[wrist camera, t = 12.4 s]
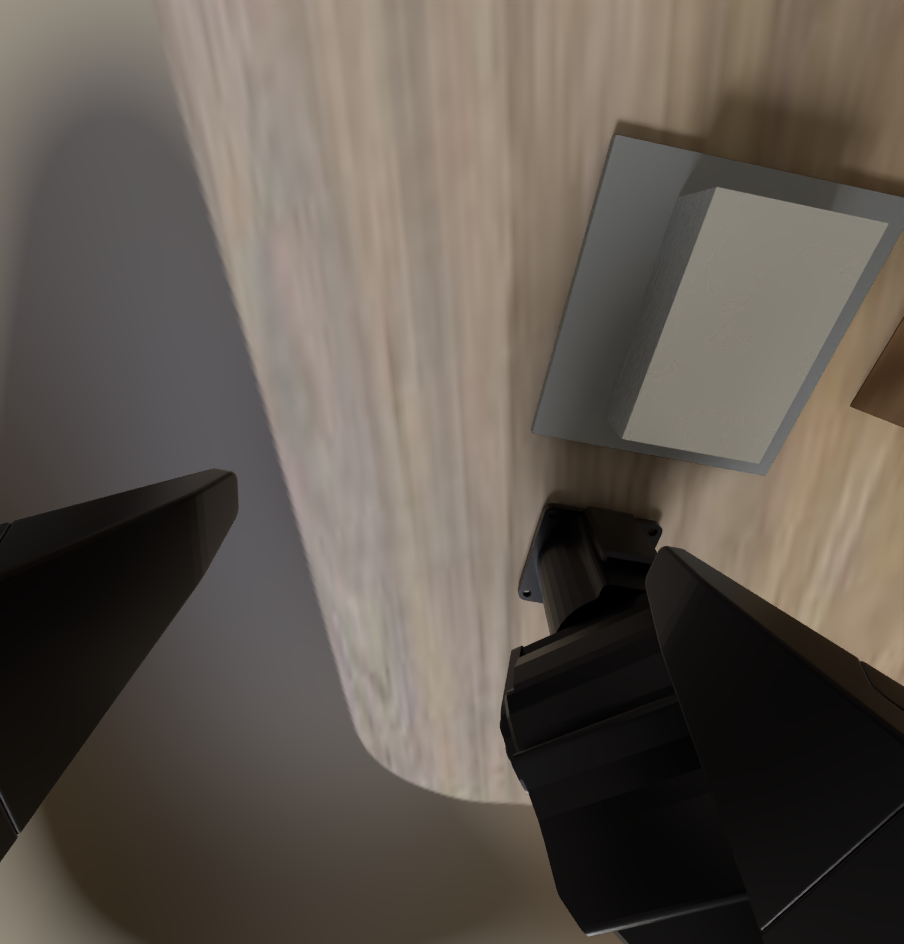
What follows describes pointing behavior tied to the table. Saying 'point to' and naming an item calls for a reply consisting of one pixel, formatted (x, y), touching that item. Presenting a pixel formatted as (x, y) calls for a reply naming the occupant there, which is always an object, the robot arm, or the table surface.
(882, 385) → the plane body
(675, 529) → the table surface
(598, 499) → the table surface
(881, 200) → the rubber mat
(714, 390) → the lever cap
